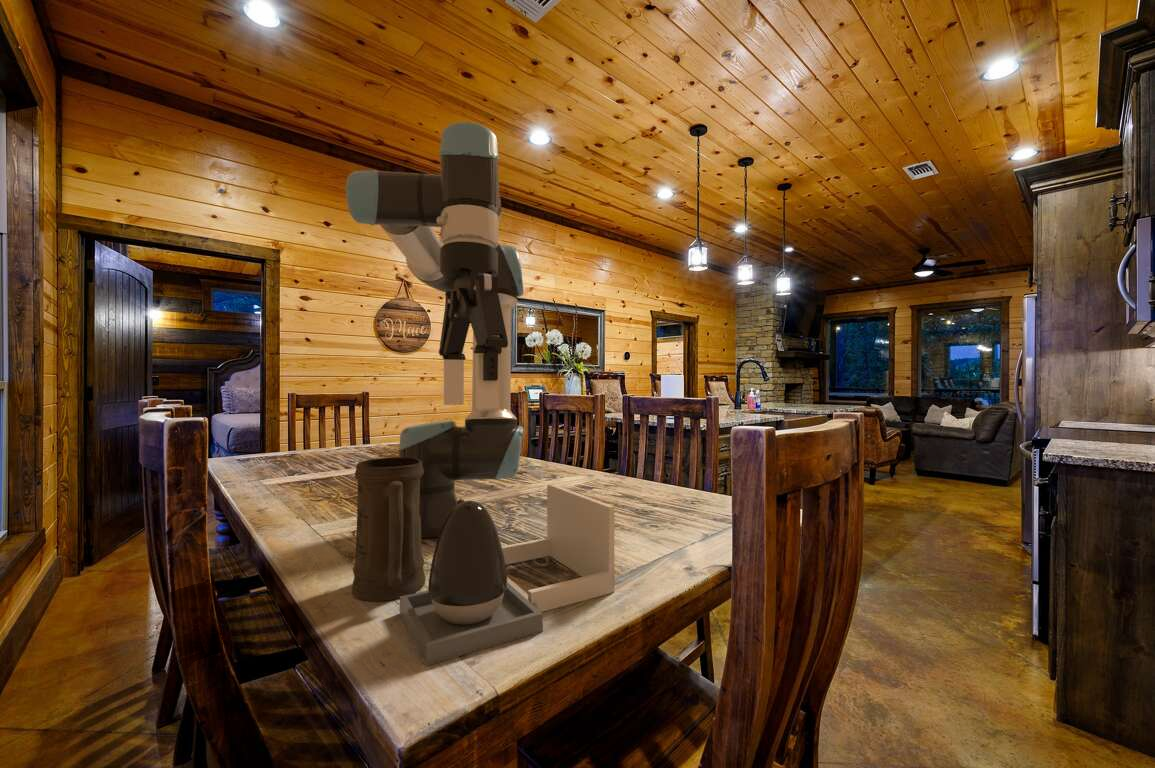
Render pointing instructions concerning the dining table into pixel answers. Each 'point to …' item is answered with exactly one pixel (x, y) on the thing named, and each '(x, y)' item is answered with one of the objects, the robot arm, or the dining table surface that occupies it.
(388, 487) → the beer stein
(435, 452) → the robot arm
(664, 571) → the dining table surface
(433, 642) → the tray
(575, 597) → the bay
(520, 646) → the dining table surface
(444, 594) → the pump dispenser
